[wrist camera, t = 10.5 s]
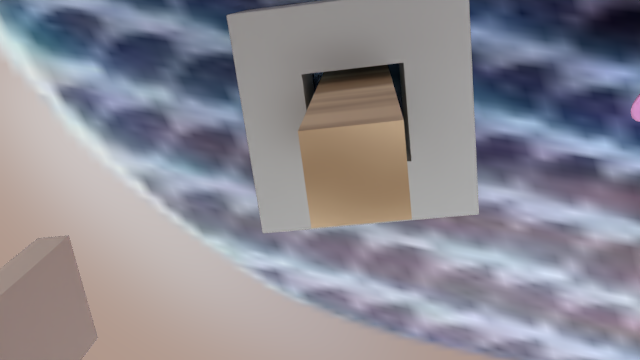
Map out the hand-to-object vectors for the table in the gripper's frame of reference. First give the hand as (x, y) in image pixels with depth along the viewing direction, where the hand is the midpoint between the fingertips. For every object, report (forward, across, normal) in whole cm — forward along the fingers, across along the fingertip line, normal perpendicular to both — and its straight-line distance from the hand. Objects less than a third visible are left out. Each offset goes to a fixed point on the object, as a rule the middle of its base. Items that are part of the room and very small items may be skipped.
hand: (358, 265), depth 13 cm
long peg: (+21, 0, 0) cm, 21 cm away
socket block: (+21, 0, 0) cm, 21 cm away
